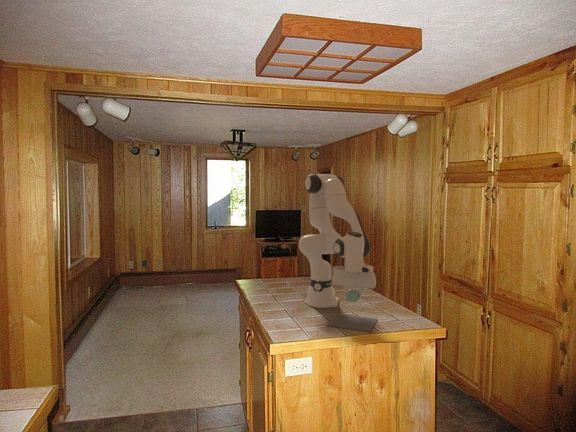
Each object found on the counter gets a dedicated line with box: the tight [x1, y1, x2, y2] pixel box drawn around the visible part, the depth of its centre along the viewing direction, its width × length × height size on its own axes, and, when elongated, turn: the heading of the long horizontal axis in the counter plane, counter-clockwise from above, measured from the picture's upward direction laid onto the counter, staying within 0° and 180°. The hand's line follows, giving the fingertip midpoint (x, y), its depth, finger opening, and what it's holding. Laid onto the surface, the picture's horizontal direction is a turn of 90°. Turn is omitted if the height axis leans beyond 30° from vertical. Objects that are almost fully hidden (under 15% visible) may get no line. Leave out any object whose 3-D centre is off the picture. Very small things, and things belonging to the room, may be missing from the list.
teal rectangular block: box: [345, 289, 361, 303], centre depth 180 cm, size 4×9×4 cm, turn 156°
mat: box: [326, 313, 378, 333], centre depth 181 cm, size 18×20×1 cm
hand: (353, 296), depth 180 cm, fingers closed on teal rectangular block, 5 cm apart
